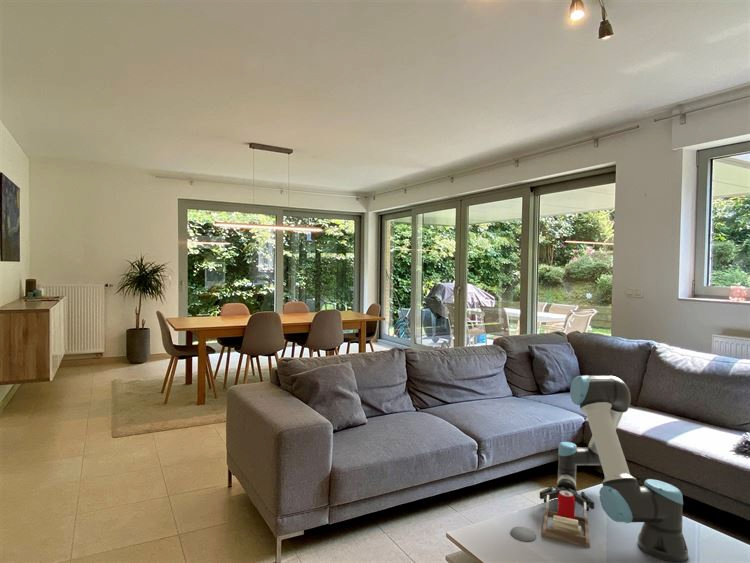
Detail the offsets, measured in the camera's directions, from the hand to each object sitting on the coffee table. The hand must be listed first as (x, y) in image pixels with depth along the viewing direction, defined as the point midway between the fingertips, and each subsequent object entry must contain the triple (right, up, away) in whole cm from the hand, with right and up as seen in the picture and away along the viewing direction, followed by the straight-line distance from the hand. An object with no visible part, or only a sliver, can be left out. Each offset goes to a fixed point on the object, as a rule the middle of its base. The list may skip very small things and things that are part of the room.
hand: (566, 509), depth 176 cm
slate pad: (-19, -7, -6) cm, 21 cm away
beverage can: (+1, -7, +3) cm, 8 cm away
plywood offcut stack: (-2, -7, -6) cm, 10 cm away
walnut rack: (-1, -7, -1) cm, 7 cm away
